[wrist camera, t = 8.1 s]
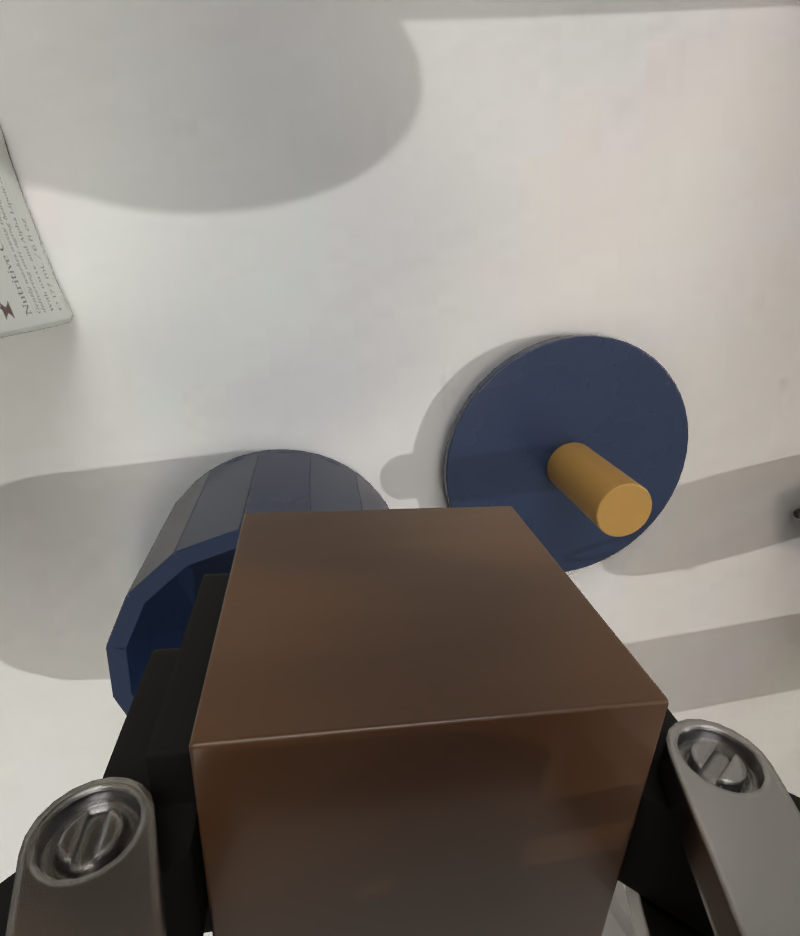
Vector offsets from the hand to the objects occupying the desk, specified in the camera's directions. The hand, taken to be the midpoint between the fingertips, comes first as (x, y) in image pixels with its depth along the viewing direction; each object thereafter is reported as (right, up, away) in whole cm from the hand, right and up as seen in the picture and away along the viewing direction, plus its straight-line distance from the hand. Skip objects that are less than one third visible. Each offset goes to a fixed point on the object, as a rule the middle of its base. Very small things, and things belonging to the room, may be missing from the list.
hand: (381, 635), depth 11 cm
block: (0, 0, 0) cm, 0 cm away
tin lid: (+9, +4, +19) cm, 21 cm away
